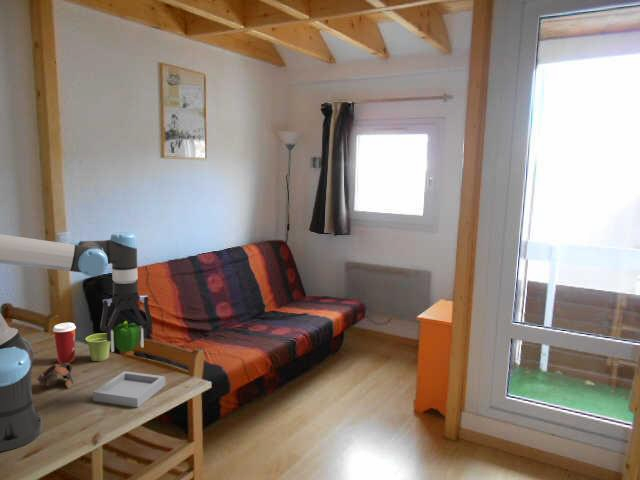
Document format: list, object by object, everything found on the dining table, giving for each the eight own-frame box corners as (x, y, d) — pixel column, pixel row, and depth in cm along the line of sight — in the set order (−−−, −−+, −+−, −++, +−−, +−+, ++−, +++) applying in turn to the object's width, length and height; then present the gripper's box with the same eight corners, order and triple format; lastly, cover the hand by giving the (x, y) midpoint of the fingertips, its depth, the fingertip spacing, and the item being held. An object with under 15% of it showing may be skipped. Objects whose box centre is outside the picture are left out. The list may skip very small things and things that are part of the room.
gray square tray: (137, 407, 147) (137, 398, 147) (93, 400, 151) (92, 391, 150) (165, 384, 162) (165, 376, 162) (124, 379, 166) (124, 371, 166)
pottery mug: (66, 394, 156) (50, 375, 153) (44, 403, 158) (28, 385, 155) (85, 370, 167) (70, 352, 164) (64, 379, 169) (49, 362, 166)
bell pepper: (122, 343, 160) (121, 314, 158) (145, 345, 159) (144, 316, 157) (107, 352, 152) (106, 322, 150) (131, 355, 150) (130, 324, 149)
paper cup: (82, 359, 182) (79, 324, 180) (62, 366, 175) (59, 330, 173) (70, 354, 186) (68, 320, 184) (50, 361, 180) (48, 326, 177)
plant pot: (108, 352, 190) (107, 331, 188) (117, 359, 183) (116, 337, 182) (83, 358, 183) (82, 336, 182) (92, 365, 176) (90, 343, 175)
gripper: (157, 275, 160) (158, 339, 163) (88, 281, 150) (91, 349, 154) (161, 280, 154) (162, 347, 157) (89, 286, 144) (92, 357, 147)
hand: (127, 348), depth 155 cm, fingers closed on bell pepper, 8 cm apart
